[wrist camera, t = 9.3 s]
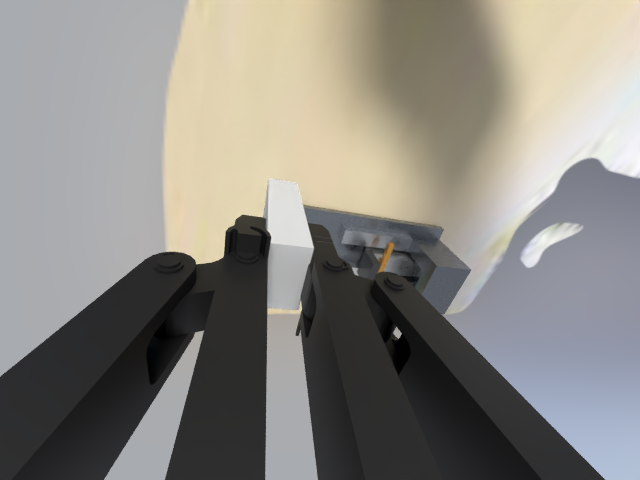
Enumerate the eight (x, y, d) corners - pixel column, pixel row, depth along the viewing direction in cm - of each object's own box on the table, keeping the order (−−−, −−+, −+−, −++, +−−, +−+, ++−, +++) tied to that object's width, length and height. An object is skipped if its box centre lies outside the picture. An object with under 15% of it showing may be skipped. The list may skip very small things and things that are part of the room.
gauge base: (296, 203, 41) (302, 236, 32) (440, 227, 47) (478, 258, 39) (281, 272, 47) (284, 314, 38) (411, 284, 53) (438, 322, 45)
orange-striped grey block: (365, 230, 43) (378, 250, 38) (434, 240, 47) (455, 260, 41) (349, 274, 47) (359, 298, 42) (414, 280, 51) (431, 303, 46)
